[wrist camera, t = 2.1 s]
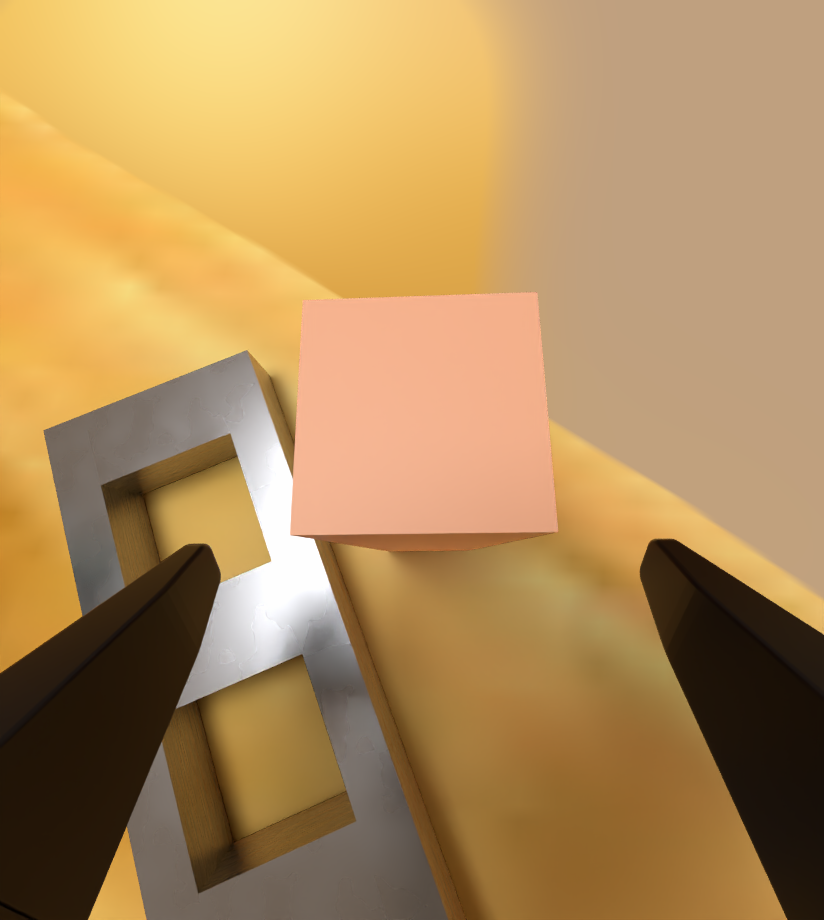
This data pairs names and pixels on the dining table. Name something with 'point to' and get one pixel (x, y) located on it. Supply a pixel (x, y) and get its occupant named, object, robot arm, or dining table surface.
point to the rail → (248, 670)
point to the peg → (422, 423)
